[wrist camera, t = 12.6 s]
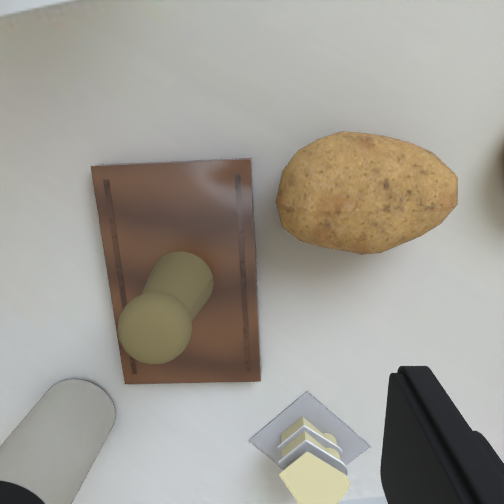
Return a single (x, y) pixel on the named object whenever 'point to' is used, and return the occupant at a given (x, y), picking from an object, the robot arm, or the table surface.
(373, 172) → the potato
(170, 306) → the olive tapered rounded piece
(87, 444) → the travel mug
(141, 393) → the table surface
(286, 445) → the stacked layers on plate
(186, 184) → the cutting board
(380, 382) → the table surface
